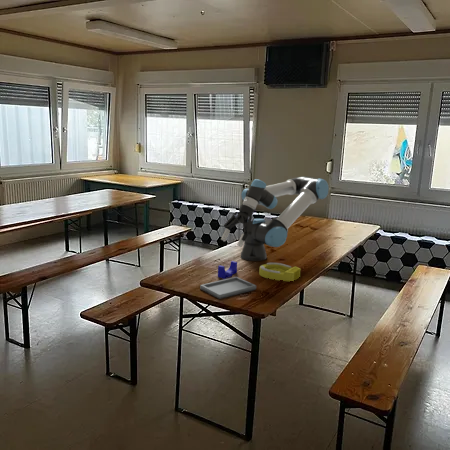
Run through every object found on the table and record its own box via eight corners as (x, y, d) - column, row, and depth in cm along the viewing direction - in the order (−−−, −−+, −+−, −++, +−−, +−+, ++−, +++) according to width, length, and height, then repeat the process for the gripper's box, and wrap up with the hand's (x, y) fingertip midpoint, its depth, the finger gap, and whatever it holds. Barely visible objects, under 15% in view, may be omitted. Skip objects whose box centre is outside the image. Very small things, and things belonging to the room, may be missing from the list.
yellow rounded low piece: (289, 284, 226) (289, 274, 225) (253, 275, 237) (253, 266, 236) (303, 275, 239) (304, 266, 238) (269, 267, 251) (269, 259, 249)
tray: (236, 280, 228) (236, 276, 227) (256, 289, 216) (256, 285, 216) (200, 289, 215) (200, 285, 214) (219, 299, 203) (219, 294, 203)
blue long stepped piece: (224, 279, 230) (224, 267, 228) (217, 277, 233) (218, 265, 231) (239, 273, 239) (239, 262, 238) (232, 271, 242) (232, 260, 240)
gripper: (228, 200, 247) (211, 235, 244) (259, 207, 228) (241, 245, 225) (237, 206, 251) (221, 240, 249) (268, 213, 232) (251, 251, 229)
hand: (230, 243), depth 237 cm, fingers open, 13 cm apart
